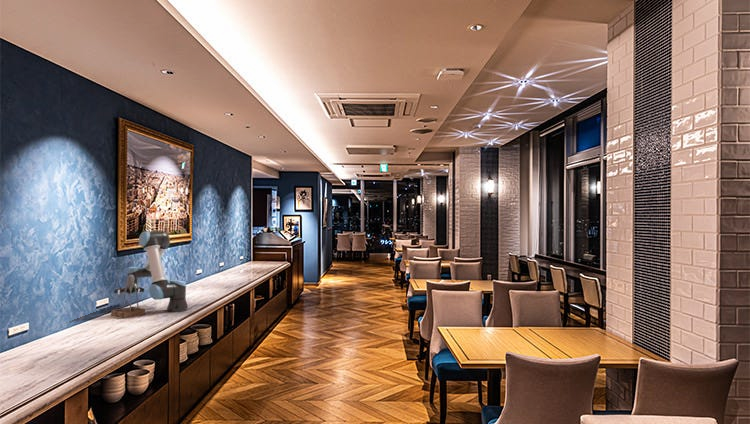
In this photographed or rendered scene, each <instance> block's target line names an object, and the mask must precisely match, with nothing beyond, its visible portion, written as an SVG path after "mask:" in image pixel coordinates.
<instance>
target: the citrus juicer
mask: <svg viewBox="0 0 750 424" xmlns="http://www.w3.org/2000/svg"><path fill="white" fill-rule="evenodd" d="M126 277H127V276H126ZM127 283H128V285H127ZM127 287H128V288H129V290H130V294H129V296H130V297H129V307H130V311H131V307H132V293H131V290H132V288H133V287H134V289H135V292H134V293H135V299H136V307H137V310H139V306H140V305H139V297H138V292H137V291H136V286H135V284H134V275H128V277H127V278H126V285H125V287H124V288H125V292H123V296H122V297H123V298H122V304H121V308H122V312H123V308H124V304H125V298H126V293H127V292H126V290H127Z"/></svg>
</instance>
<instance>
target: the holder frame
mask: <svg viewBox="0 0 750 424" xmlns="http://www.w3.org/2000/svg"><path fill="white" fill-rule="evenodd" d="M110 313H111V315H110V316H111V317H114V318H118V319H129V318H135V317H140V316H144V315H146V310H145V309H143V308H139V310H137V306H131V311H130V306H129V307H123V312H122V307H121V308H118V309H117V308H116V309H111V311H110Z"/></svg>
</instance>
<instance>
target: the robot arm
mask: <svg viewBox="0 0 750 424" xmlns="http://www.w3.org/2000/svg"><path fill="white" fill-rule="evenodd" d="M170 244H171V238H170V236H169V234H168V233H167V232H165V231H162V230H151V231H150V230H147V231H143V232H141V233H140V235H139V237H138V245H139V247H141V248H143V251H145V252H146V255H147V263H146V265H145V266H144V267H143V268H139V267H138V266H129V267H127V269H126V271H127V272H126V274H127V275H126V277H128V275H134V284H135V286H136V291H137V295H139V294H140V293H144V292H145V287H144V288H143V287H140V286H139V284H138V283H139V281H138V280H139V279H141V278H142V279H143V278H150V277H151V278H152V281H151V283H150V286H149V290H148V292H149V295H150V298H152V299H153V300H155V301H157V300H158V301H159V300H164V299H169V301H168V305H167V307H166V311H167V312H171V313H172V312H173V313H177V312H180V313H181V312H184V311H185V312H186V311H188V309H189V307H188V303H187V302H188V301H187V300H186V296H187V295H186V294H187V293H186V292H187V283H186V281H184V280H178V279H176V280H175V279H171V280H170V281H168V278H166V277H165V272H164V269H163V263H162V257H163V254H164V253H165V251H166V250H167V249H168V248H169V246H170ZM126 284H127V285H128V283H127V282H126ZM125 288H126V287H124V288H123V287H120V288H115V289H114V294H116V295H120V294H121V293H124V292H125ZM126 293H127V294H129V295H130V290H129V288H128V287H127V290H126ZM134 293H135V289H134V287H133V288H132V290H131V294H134Z"/></svg>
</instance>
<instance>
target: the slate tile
mask: <svg viewBox="0 0 750 424" xmlns="http://www.w3.org/2000/svg"><path fill="white" fill-rule="evenodd" d="M138 306H139V308H143V309H145V311H149V310H155V306H149V305H146V304H145V305H138Z"/></svg>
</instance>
